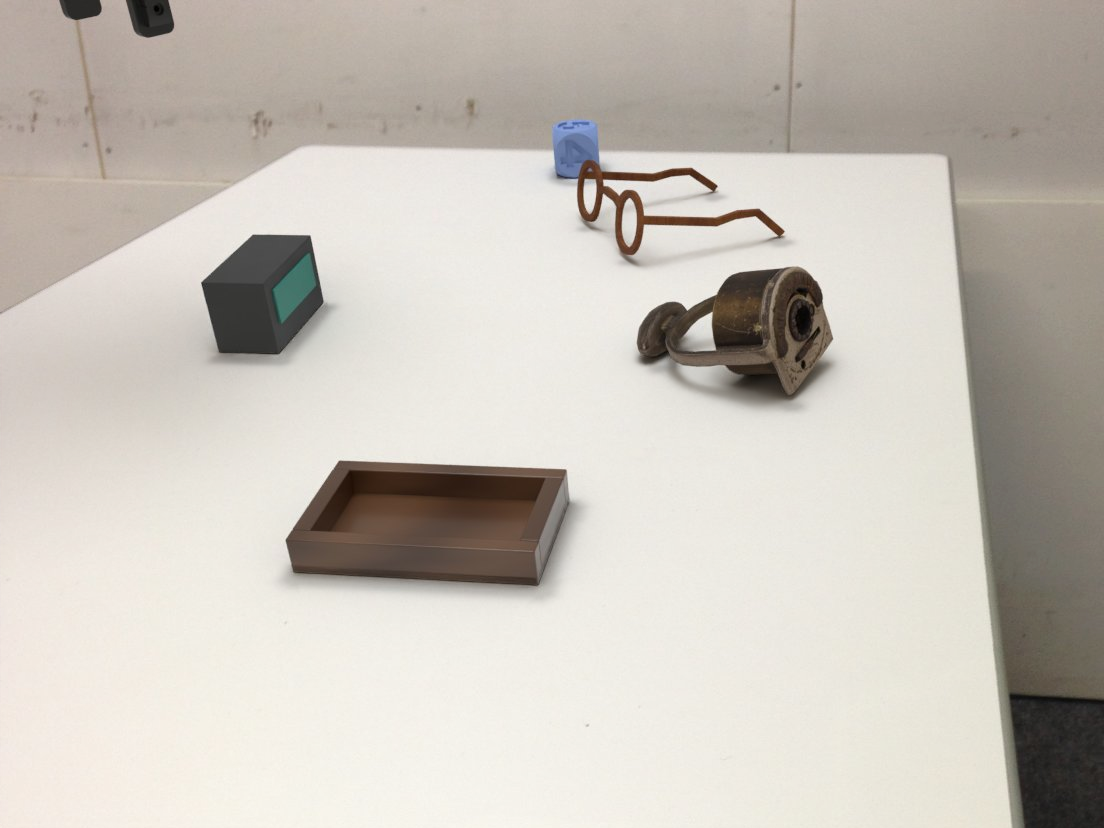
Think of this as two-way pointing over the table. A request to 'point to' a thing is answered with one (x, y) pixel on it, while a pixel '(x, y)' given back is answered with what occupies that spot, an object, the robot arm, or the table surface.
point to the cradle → (431, 522)
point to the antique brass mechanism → (749, 326)
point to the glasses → (636, 199)
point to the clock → (263, 293)
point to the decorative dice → (574, 146)
